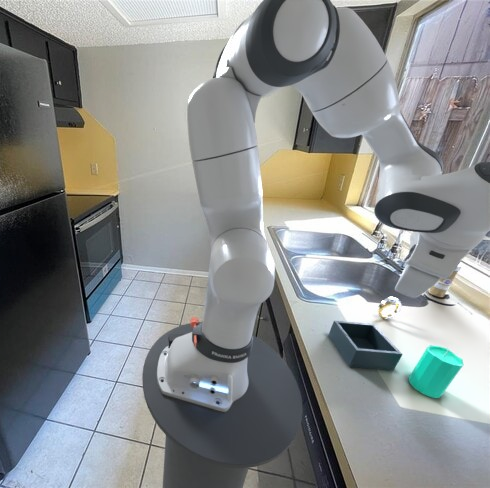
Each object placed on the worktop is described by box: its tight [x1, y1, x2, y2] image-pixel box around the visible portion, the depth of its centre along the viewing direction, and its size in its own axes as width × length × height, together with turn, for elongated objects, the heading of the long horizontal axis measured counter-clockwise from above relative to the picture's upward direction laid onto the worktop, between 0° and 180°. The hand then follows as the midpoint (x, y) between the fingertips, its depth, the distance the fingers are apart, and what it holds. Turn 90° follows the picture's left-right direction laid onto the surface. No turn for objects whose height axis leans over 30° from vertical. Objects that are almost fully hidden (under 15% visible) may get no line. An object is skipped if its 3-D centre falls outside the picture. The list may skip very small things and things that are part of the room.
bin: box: [327, 320, 403, 372], centre depth 71 cm, size 11×11×6 cm
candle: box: [408, 344, 464, 399], centre depth 60 cm, size 6×6×12 cm
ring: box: [376, 296, 403, 320], centre depth 84 cm, size 7×3×8 cm, turn 88°
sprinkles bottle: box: [427, 264, 462, 298], centre depth 98 cm, size 5×5×14 cm
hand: (406, 276), depth 62 cm, fingers open, 8 cm apart
